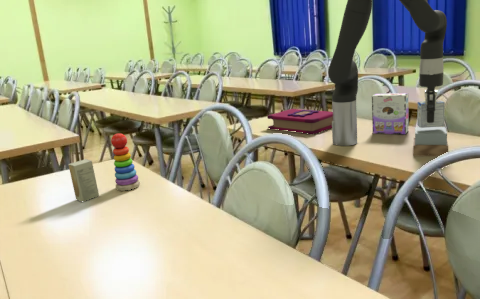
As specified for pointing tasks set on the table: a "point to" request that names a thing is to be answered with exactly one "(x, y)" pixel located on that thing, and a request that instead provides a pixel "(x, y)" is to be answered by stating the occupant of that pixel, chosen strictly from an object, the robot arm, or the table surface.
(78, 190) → the skincare box
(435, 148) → the walnut base block
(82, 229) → the table surface
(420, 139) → the slate top block
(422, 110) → the medicine box
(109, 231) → the table surface
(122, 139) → the stacking toy
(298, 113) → the book
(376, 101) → the candy box
